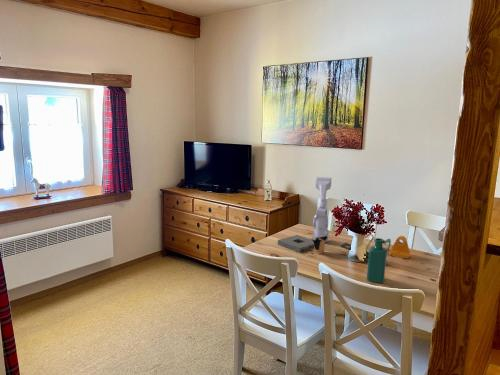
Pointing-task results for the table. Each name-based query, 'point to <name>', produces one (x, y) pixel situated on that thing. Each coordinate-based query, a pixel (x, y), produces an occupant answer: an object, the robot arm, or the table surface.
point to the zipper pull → (350, 249)
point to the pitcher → (377, 261)
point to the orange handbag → (400, 248)
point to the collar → (297, 243)
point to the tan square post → (320, 247)
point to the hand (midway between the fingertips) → (319, 248)
